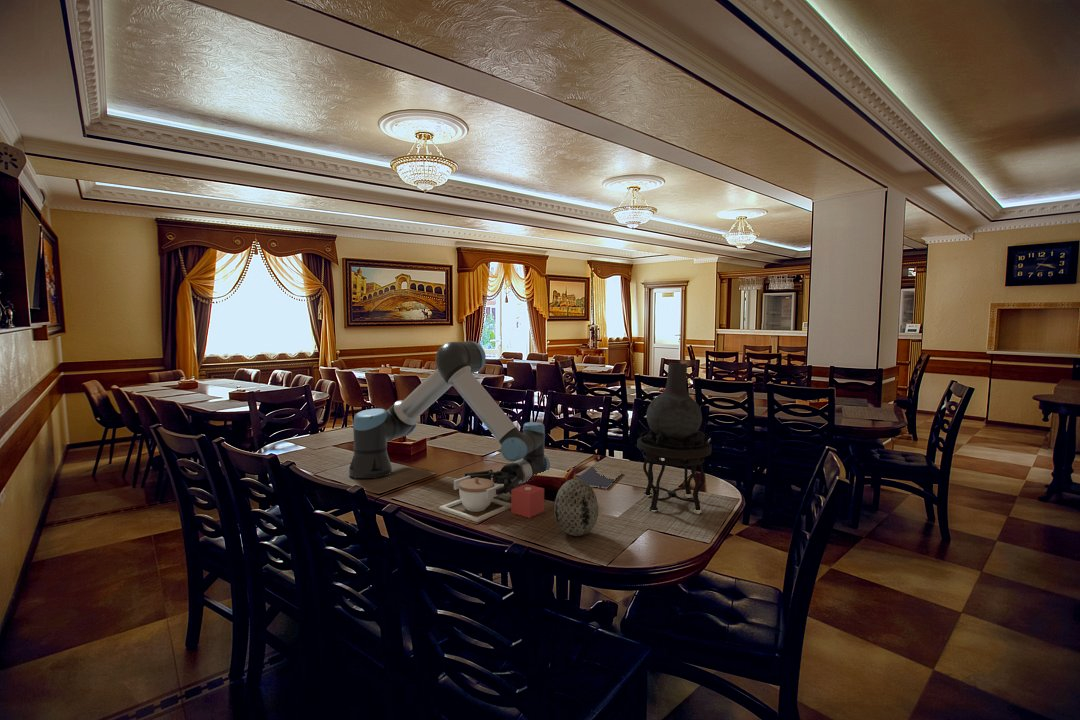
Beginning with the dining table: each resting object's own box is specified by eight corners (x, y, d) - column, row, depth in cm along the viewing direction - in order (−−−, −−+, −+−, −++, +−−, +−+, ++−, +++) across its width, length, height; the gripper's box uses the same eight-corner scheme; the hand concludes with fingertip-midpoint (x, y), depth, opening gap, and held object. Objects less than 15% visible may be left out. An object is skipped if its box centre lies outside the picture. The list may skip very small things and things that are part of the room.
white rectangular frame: (505, 484, 174) (505, 482, 174) (541, 494, 165) (541, 492, 165) (439, 509, 150) (439, 506, 150) (477, 522, 140) (477, 519, 140)
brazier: (630, 511, 151) (634, 363, 148) (641, 489, 172) (645, 359, 169) (708, 522, 143) (714, 366, 140) (709, 497, 164) (715, 362, 161)
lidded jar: (492, 515, 146) (492, 483, 145) (455, 514, 146) (455, 483, 145) (495, 502, 157) (496, 473, 156) (462, 501, 157) (462, 472, 156)
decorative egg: (565, 546, 125) (567, 488, 124) (546, 529, 136) (547, 475, 135) (605, 539, 130) (607, 483, 129) (584, 523, 141) (585, 471, 140)
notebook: (591, 470, 195) (572, 485, 176) (591, 466, 195) (572, 481, 176) (623, 475, 190) (606, 491, 170) (623, 471, 190) (606, 486, 170)
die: (525, 506, 154) (526, 483, 153) (543, 511, 149) (544, 487, 149) (511, 512, 148) (511, 488, 148) (529, 518, 144) (529, 493, 143)
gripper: (545, 492, 158) (501, 511, 141) (488, 477, 173) (442, 493, 156) (546, 469, 158) (502, 485, 141) (488, 456, 173) (442, 469, 156)
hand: (470, 489), depth 149 cm, fingers open, 13 cm apart
